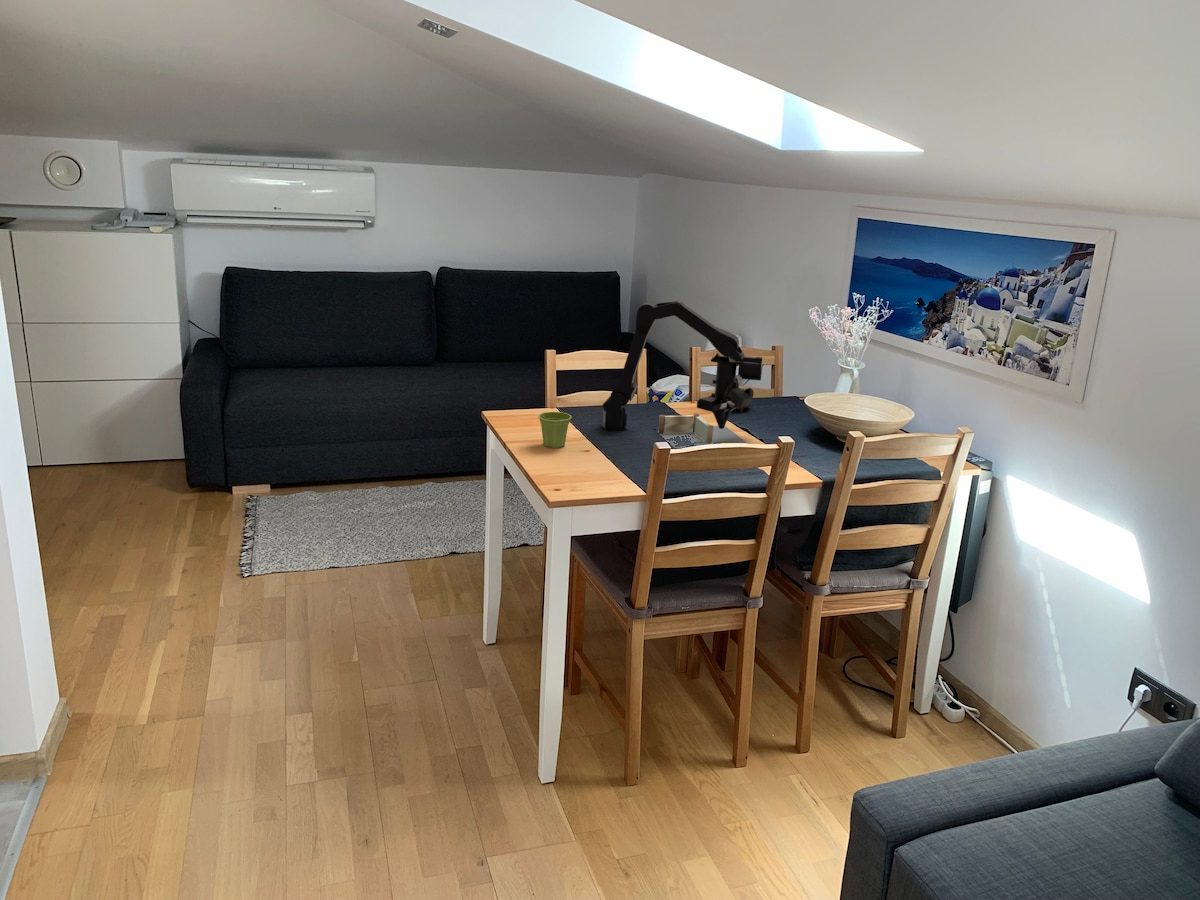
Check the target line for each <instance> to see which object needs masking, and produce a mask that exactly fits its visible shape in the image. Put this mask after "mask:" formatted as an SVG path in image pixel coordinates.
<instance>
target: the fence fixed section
mask: <svg viewBox="0 0 1200 900" xmlns="http://www.w3.org/2000/svg"><path fill="white" fill-rule="evenodd" d="M696 417H700V413H696V412H695V413H693V415H692V414H690V415H689V414H688V415H687V414H686V415H684V414H683V415H665V414H659V418H658V427H659V430H658V433H677V432H692V431H693V432H695V420H696ZM692 426H693V429H692ZM658 433H657V434H658Z"/></svg>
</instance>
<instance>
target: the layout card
mask: <svg viewBox="0 0 1200 900" xmlns="http://www.w3.org/2000/svg"><path fill="white" fill-rule="evenodd" d="M712 426H713V437H712V443H707V442H706V441H705V440H704V439H703V438H702V437H700V436H699V435H698V434H697V433H696V432H693V431H692V432H677V433H662V434H658V435H659V436H660V437H661V436H662V437H661V438H662V439H663V438H664V439H663V440H664V441H666V443H668V442H669V443H670V444H669V443H668V444H669V445H670V446H671V447H672V448H673V449H674V448H682V447H686V446H687V445H686V446H680V447H675V445H678V443H677V444H674V443H673V442H675V443H676V441H674V440H673V441H672V440H671V441H669V440H666V439H670V438H673V439H674V437H675V438H676V437H677V436H679V437H680V439H681V441H682V437H681V436H684V439H686V437H685V435H686V436H687V438H689V440H690V438H691V440H690V441H691V443H694V442H702V443H697V444H694V445H702V444H716V443H749V442H748V441H747V440H745V439H743V438H742V437H741V436H740V435H738V434H737V433H735V432H734V431H733V430H731V429H730V428H729V427H727V426H726V425H725V426H724V428H723V429H720V428H719V426H718V425H712ZM692 429H693V426H692ZM686 433H687V434H686ZM690 434H691V435H690ZM688 435H689V436H690V437H688ZM692 437H693V438H694V439H693V438H692ZM689 440H688V441H689ZM685 441H686V440H685ZM688 446H689V445H688Z"/></svg>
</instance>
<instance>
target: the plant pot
mask: <svg viewBox="0 0 1200 900" xmlns="http://www.w3.org/2000/svg"><path fill="white" fill-rule="evenodd" d="M537 418H538V419H539V422H540V426H541V435H542V442H543V443H542V444H543V446H544V447H545V448H546V447H549V448H551V449H557V448H558V449H559V448H562V447H565V446H566V439H567V433H568V428H569V424H570V422H571V419H572V415H571V414H568V413H567V412H566V413H565V412H561V411H545V412H541V413H539V414H538V415H537Z"/></svg>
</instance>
